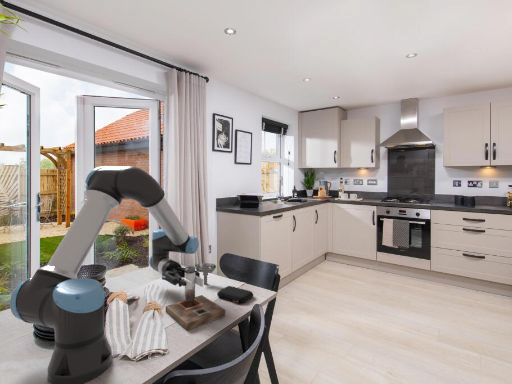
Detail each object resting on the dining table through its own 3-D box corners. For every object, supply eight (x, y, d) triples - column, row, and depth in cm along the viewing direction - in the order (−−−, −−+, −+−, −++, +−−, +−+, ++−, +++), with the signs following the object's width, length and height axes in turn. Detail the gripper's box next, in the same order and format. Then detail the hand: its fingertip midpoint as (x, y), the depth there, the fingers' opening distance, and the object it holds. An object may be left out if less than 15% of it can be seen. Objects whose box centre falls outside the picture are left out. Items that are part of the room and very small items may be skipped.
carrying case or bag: (213, 298, 124) (242, 307, 117) (213, 292, 124) (242, 300, 117) (227, 290, 134) (255, 297, 126) (227, 284, 133) (255, 291, 126)
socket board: (186, 330, 98) (186, 322, 98) (165, 312, 111) (165, 305, 111) (225, 315, 109) (225, 308, 109) (201, 300, 122) (201, 294, 121)
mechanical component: (196, 281, 142) (196, 262, 142) (216, 283, 140) (216, 263, 140) (194, 284, 140) (194, 264, 139) (214, 286, 138) (214, 265, 137)
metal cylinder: (187, 301, 110) (187, 270, 109) (182, 297, 113) (182, 267, 112) (197, 298, 112) (197, 268, 112) (191, 294, 115) (192, 265, 115)
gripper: (187, 272, 131) (215, 288, 114) (150, 281, 120) (176, 300, 103) (187, 256, 131) (216, 270, 113) (150, 264, 120) (175, 280, 102)
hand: (196, 284), depth 108 cm, fingers closed on metal cylinder, 4 cm apart
